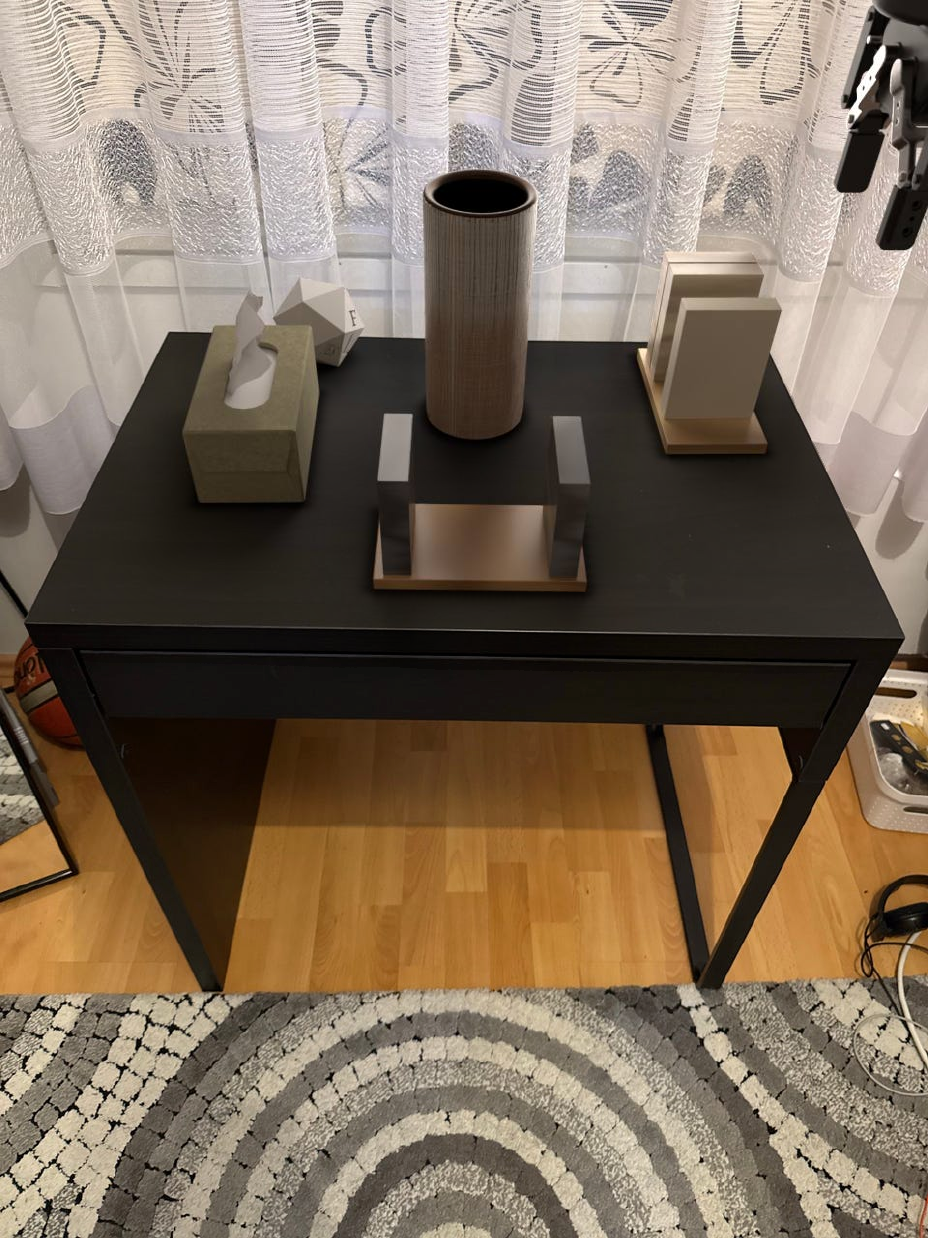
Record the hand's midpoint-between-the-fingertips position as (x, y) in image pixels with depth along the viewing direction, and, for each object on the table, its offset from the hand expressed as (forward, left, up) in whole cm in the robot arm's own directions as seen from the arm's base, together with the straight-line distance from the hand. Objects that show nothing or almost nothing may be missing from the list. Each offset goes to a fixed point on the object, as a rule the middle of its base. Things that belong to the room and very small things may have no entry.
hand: (869, 218), depth 61 cm
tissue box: (+48, +7, -30) cm, 57 cm away
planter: (+32, -8, -30) cm, 45 cm away
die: (+52, -10, -30) cm, 61 cm away
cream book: (+10, -18, -29) cm, 35 cm away
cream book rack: (+12, -21, -30) cm, 39 cm away
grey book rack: (+22, +11, -30) cm, 39 cm away
